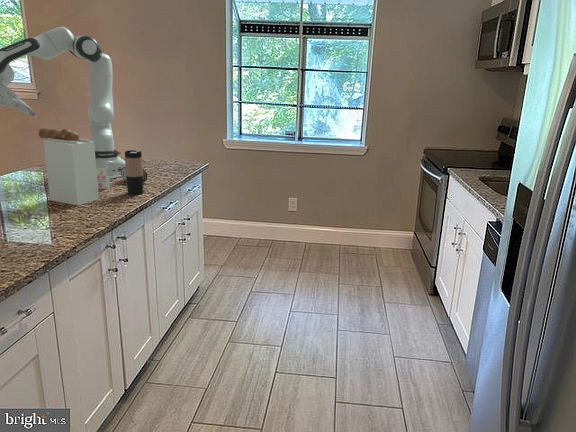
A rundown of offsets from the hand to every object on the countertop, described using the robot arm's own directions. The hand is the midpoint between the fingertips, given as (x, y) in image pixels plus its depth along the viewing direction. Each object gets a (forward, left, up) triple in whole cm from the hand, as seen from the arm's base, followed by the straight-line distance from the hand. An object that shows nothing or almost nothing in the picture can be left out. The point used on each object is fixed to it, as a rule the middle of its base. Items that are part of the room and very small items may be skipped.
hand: (31, 114), depth 206 cm
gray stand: (-8, +31, -35) cm, 47 cm away
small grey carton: (-24, +16, -35) cm, 45 cm away
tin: (-42, +11, -35) cm, 56 cm away
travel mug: (-35, +32, -35) cm, 59 cm away
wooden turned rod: (-5, +26, -9) cm, 28 cm away
